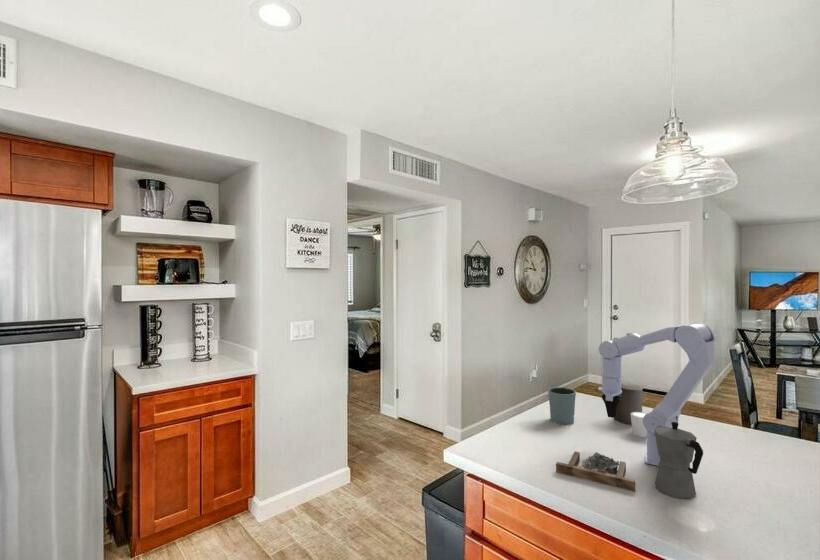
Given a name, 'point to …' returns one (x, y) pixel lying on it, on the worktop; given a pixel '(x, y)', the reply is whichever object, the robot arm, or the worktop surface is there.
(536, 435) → the worktop surface
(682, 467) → the coffeepot
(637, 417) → the shot glass
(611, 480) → the walnut bracket
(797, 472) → the worktop surface
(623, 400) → the pillar candle
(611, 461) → the egg carton
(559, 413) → the teal grey cup
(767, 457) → the worktop surface
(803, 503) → the worktop surface
